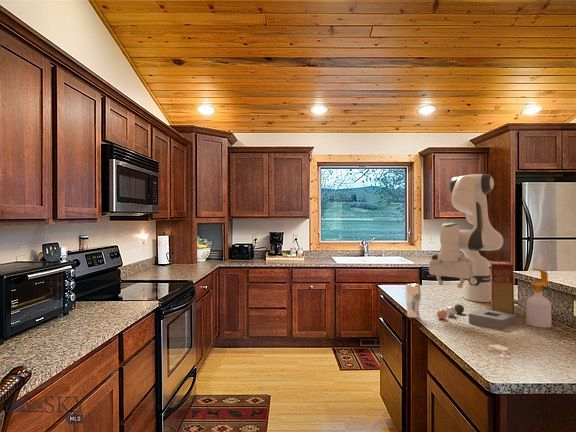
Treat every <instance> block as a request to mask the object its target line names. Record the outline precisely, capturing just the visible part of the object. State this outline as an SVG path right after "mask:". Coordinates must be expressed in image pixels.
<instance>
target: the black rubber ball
mask: <svg viewBox="0 0 576 432" xmlns="http://www.w3.org/2000/svg"><path fill="white" fill-rule="evenodd" d="M453 308H454V309H455V310H456V313H457V314H463V313H464V311H465V307H464V306H463V304H460V303H457V304H455V306H454V307H453Z"/></svg>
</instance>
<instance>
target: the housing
mask: <svg viewBox="0 0 576 432" xmlns="http://www.w3.org/2000/svg"><path fill="white" fill-rule="evenodd" d="M468 323H469V324H473V325H477V326H482V327H487V328H492V329H497V330H502V331H504V330H506V329H507V328H510V327H512V326H514V325H517V314H515V313H514V314H510V313H504V312H498V311H492V309H486V308H482V309H479V310H477V311H476V310H475V311H474V312H470V313H468Z"/></svg>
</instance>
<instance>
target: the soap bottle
mask: <svg viewBox="0 0 576 432" xmlns="http://www.w3.org/2000/svg"><path fill="white" fill-rule="evenodd" d="M531 269H532V270H536V271H538V272H540V282H536V283H535V282H531V283H530V285H531V286H534V288H535V289H534V290H533V295H532V296H529V297H528V298H526V300H525V321H526V322H525V323H526V325H528V326H531V327H535V328H541V329H542V328H543V329H547V328H551V327H552V302H551V301H550V300H549V299H548V298H546V297H545V296H544V295H543V294H544V293H543V292H544V291H543V290H541V288H542V287H543V286H547V285H548V281H549V280H548V279H549V278H548V277H549V275H548V272H547V271H546V270H543V269H539V268H535V267H531Z"/></svg>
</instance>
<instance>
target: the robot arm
mask: <svg viewBox="0 0 576 432" xmlns="http://www.w3.org/2000/svg"><path fill="white" fill-rule="evenodd" d="M494 186H495V182H494V178H493V176H492V175H491V174H489V173H482V174H481V173H479V174H478V173H476V174H475V173H474V174H473V173H472V174H465V175H461V176H457V175H456V176H454V177H452V178H451V179H450V181H449V190H450V192H451V199H450V200H451V205H452V207H453V208H454V209H456V210H457V211H459V213H460V212H461V213H464V214H465V219H466V221H467V222H468V223H469V224H471V225H472V226H473V227H472V229H460V226H459V223H456V222H445V223H442V224H441V227H440V232H439V243H440V249H439V250H440V251H439V252H438V253H435V254H431V255H430V256H429V258H430V261H429V262H428V263H429V264H428V272H429V275H432V276H435V278H436V280H437V282H438V286H443V285H444V281H443V280H442V278H441V277H447V278H449V277H450V278H457V279H459V281H460V282H459V283H457V288H458V289H462V288H463V284H464V288H463V294H462V295H461V298H462V299H465V300H467V301H471V302H476V303H477V302H480V303H491V274H490V262H489V260H488V259H487V258H486V257H484V256H482V255H481V254H480V252H479V251H487V252H488V251H490V252H491V251H497V250H498V251H499V250H500V249H501V248H502V246H503V245H504V237H503V236H502V234H501V233H500V232H499V231H497V230H496V229H495V228H494V227H493V225H492V224H491V222H490V219H489V213H488V212H489V211H488V198H487V195H488V194H490V193H491V192H492V190H494ZM461 252H462V253H463V255H464V257H465V258H464V257H461ZM465 281H466V282H465ZM464 282H465V283H464Z"/></svg>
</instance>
